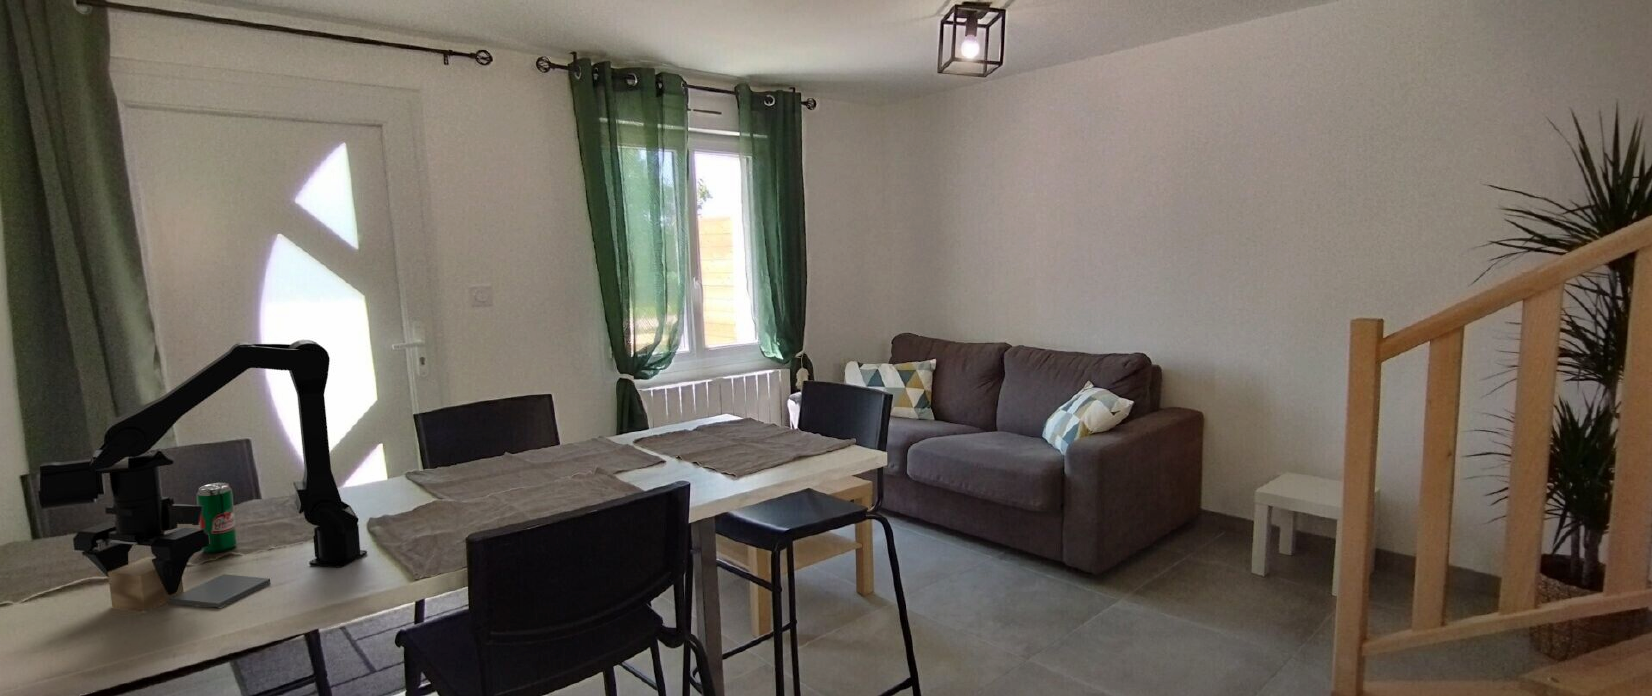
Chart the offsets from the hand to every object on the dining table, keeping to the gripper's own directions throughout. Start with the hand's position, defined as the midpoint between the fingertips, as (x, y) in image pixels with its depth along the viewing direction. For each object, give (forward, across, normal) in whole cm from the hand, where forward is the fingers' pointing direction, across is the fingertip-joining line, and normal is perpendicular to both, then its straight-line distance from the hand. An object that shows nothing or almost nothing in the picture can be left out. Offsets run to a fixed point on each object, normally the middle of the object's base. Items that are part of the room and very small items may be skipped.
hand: (148, 591), depth 119 cm
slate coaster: (+2, -8, -4) cm, 10 cm away
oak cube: (+2, 0, 0) cm, 2 cm away
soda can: (+2, +8, -20) cm, 21 cm away
